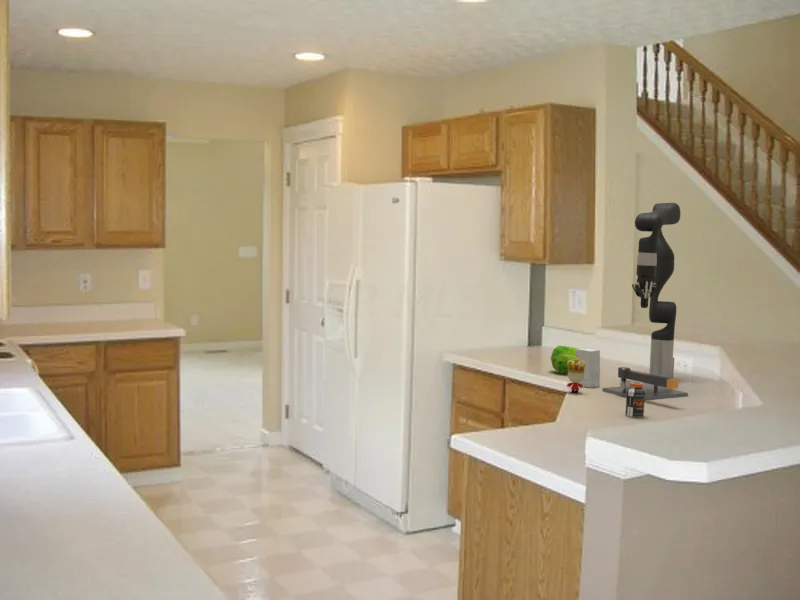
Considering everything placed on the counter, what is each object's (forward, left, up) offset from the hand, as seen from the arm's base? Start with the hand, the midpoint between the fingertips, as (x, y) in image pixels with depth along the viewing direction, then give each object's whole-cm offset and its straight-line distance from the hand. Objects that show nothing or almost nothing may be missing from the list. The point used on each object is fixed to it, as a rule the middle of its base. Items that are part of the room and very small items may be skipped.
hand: (644, 307), depth 352 cm
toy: (+34, 0, -32) cm, 47 cm away
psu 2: (+3, +11, -31) cm, 33 cm away
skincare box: (+19, -10, -32) cm, 39 cm away
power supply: (+12, +11, -31) cm, 35 cm away
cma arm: (+20, +22, -25) cm, 39 cm away
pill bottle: (+43, +40, -32) cm, 67 cm away
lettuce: (+4, -35, -32) cm, 48 cm away
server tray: (+8, +11, -32) cm, 35 cm away
